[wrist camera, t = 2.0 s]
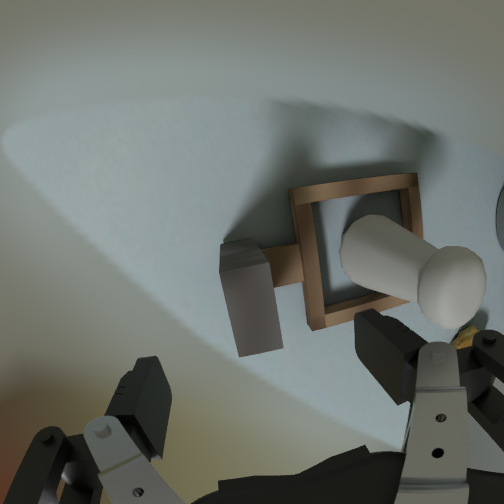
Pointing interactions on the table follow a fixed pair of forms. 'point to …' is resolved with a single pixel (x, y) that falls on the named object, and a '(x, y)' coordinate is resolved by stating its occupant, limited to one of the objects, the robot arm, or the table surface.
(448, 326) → the salt shaker
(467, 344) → the pastry
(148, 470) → the robot arm
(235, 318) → the frame
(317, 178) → the table surface
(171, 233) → the table surface
